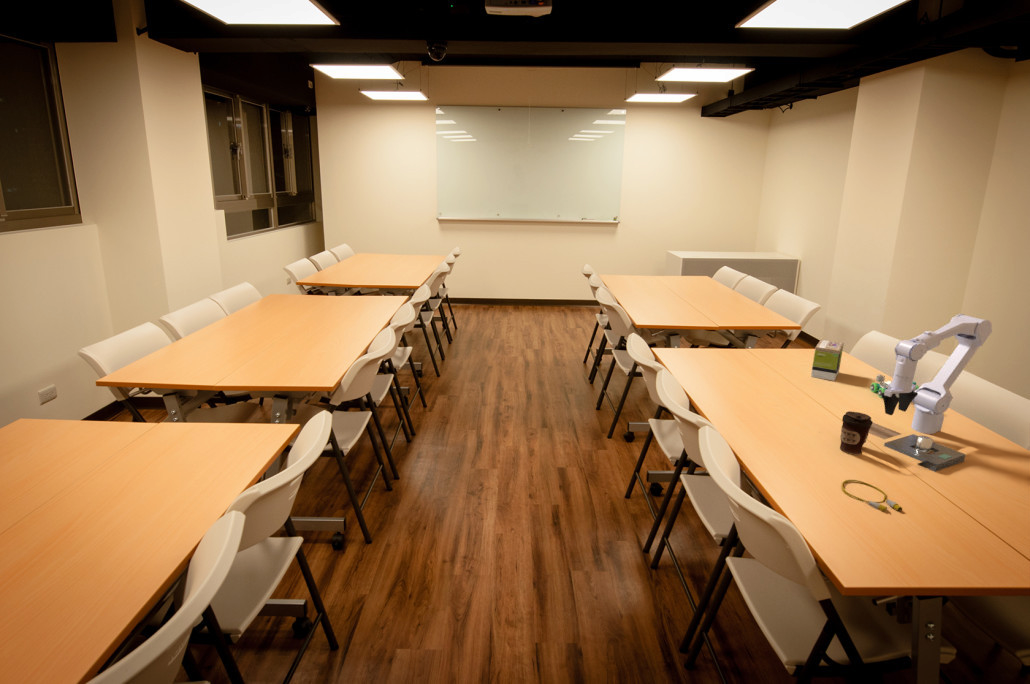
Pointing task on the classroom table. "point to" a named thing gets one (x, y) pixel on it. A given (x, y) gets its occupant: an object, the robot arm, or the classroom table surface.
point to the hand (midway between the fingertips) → (895, 412)
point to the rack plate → (930, 461)
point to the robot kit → (879, 388)
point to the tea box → (827, 360)
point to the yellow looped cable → (874, 504)
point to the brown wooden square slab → (882, 431)
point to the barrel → (924, 444)
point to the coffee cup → (854, 432)
